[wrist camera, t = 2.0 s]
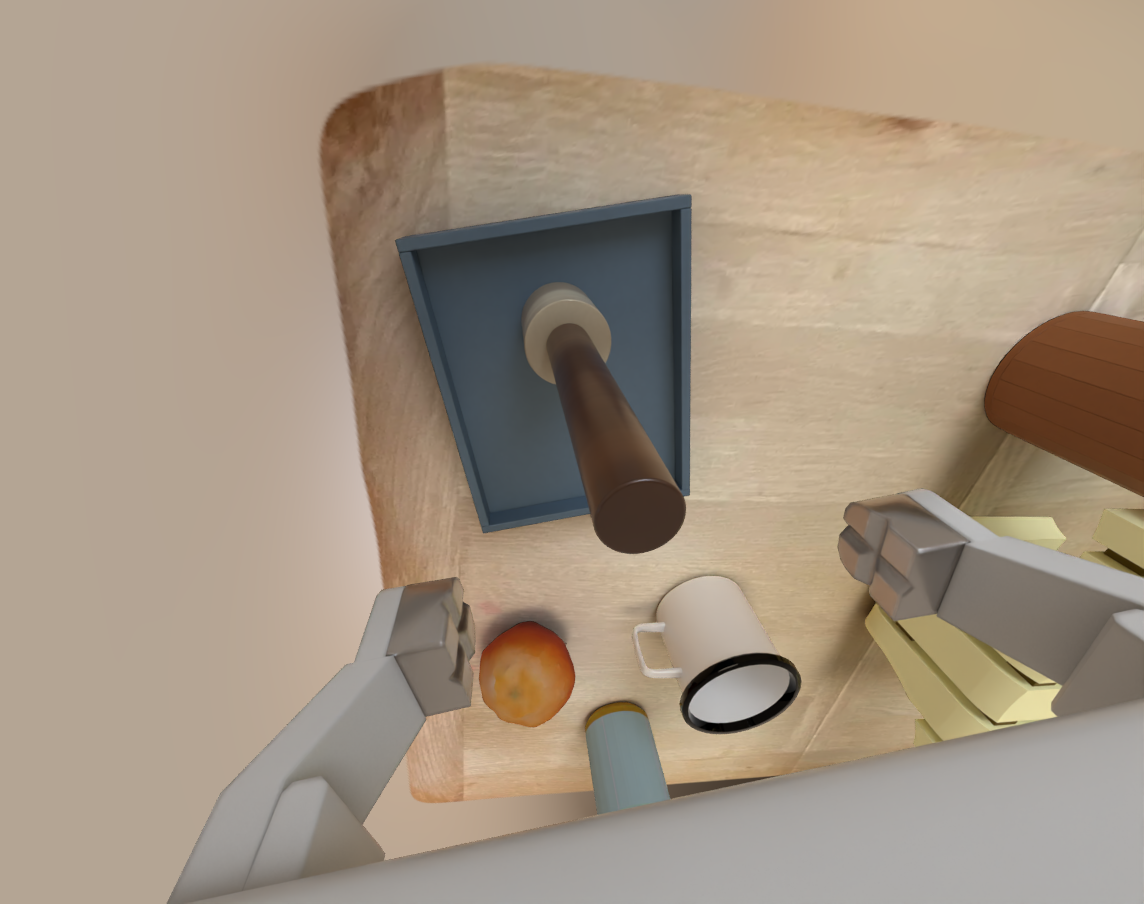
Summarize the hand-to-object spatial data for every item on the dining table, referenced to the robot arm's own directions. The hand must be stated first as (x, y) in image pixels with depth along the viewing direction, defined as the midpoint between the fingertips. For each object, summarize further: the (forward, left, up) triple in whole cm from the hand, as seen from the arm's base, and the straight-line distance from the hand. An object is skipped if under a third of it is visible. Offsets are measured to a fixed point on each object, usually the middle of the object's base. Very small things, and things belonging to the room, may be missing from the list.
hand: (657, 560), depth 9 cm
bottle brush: (0, 0, -20) cm, 20 cm away
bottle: (+44, 0, -21) cm, 49 cm away
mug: (+28, +8, -21) cm, 36 cm away
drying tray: (+4, 0, -21) cm, 21 cm away
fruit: (+28, -7, -21) cm, 36 cm away
